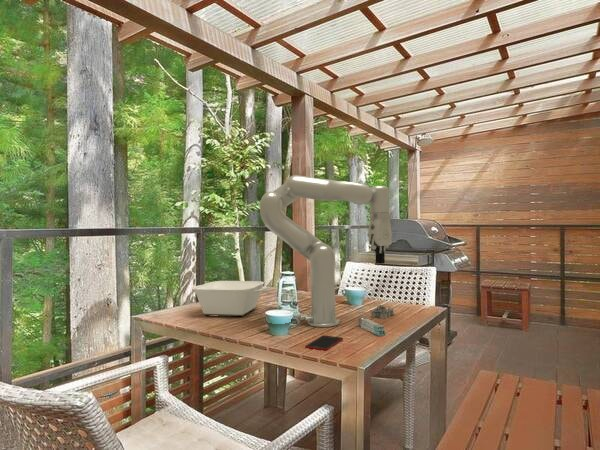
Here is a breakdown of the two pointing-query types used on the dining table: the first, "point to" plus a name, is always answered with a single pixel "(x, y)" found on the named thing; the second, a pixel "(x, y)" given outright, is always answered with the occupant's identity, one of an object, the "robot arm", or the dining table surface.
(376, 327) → the tongs upper arm
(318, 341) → the cell phone
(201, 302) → the tub
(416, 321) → the dining table surface
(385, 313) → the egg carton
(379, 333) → the tongs lower
